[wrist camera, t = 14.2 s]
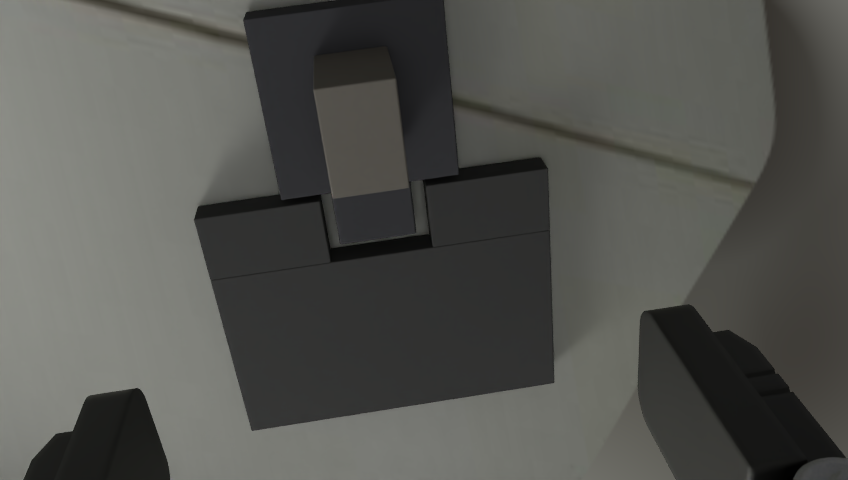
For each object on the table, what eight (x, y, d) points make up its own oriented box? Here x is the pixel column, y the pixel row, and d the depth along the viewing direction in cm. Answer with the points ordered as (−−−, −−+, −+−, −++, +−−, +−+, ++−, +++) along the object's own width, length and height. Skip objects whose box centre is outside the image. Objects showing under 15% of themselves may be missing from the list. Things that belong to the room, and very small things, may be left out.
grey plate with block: (438, -14, 38) (460, 19, 32) (459, 214, 43) (481, 276, 38) (245, 12, 37) (233, 49, 31) (293, 238, 43) (289, 304, 37)
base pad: (540, 157, 42) (548, 168, 41) (548, 367, 49) (554, 383, 48) (197, 206, 41) (193, 219, 40) (253, 414, 48) (251, 431, 47)
